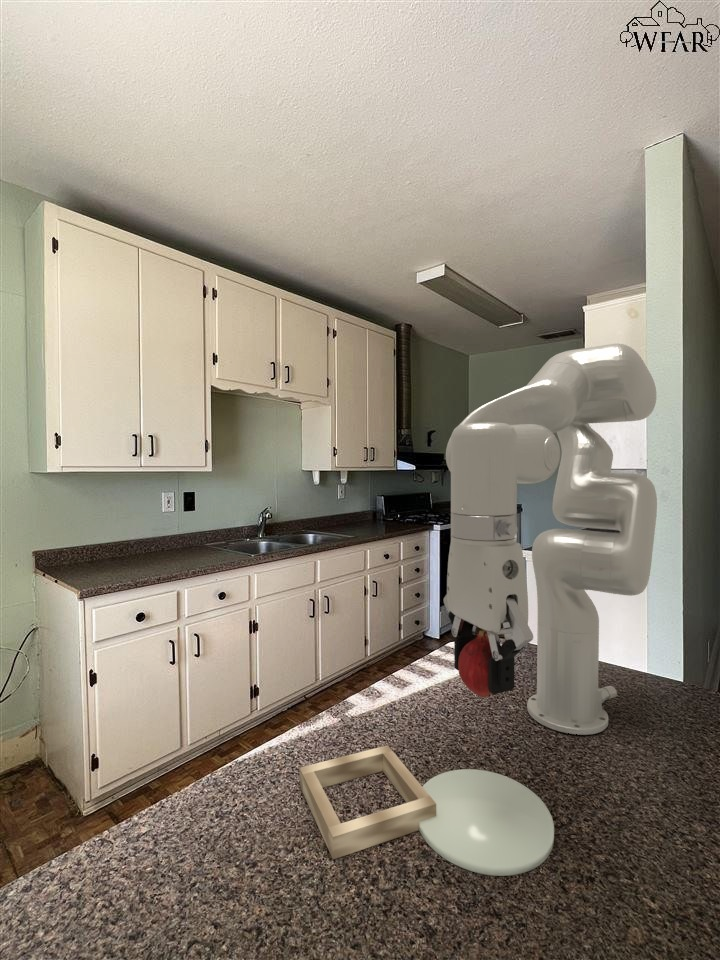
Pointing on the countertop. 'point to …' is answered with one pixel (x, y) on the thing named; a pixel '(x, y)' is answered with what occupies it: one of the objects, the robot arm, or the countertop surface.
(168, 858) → the countertop surface
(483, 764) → the countertop surface
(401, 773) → the frame
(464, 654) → the onion
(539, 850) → the plate
